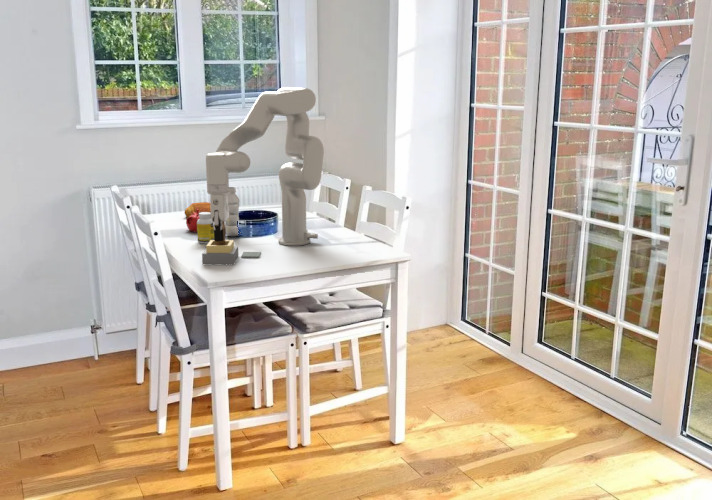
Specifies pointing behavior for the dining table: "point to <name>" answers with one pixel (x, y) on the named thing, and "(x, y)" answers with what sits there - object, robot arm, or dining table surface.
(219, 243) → the brown wooden tall bar
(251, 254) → the coaster
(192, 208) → the croissant
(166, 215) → the dining table surface
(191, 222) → the pomegranate
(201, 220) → the pill bottle
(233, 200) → the plastic bottle
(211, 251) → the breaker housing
